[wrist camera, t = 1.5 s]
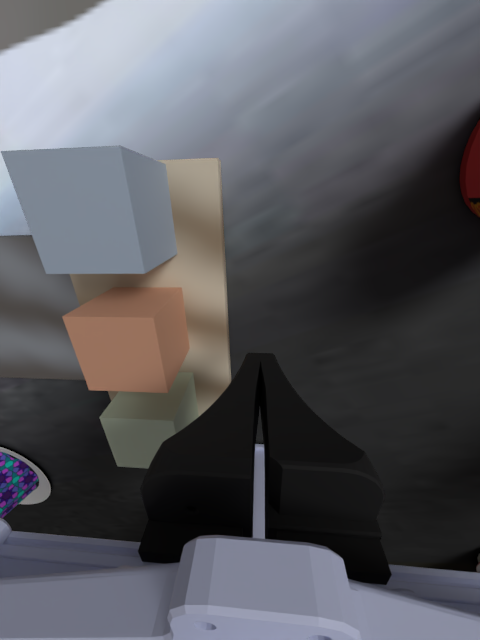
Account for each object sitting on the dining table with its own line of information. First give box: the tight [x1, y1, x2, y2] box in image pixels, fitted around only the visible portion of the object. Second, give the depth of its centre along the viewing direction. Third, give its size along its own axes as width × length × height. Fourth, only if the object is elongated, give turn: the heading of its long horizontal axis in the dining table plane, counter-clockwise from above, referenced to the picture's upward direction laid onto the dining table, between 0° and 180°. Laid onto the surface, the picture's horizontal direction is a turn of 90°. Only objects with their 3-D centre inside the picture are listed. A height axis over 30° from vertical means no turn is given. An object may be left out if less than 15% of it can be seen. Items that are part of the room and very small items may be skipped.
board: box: [0, 158, 231, 416], centre depth 19 cm, size 20×21×1 cm
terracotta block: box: [62, 287, 190, 393], centre depth 16 cm, size 5×5×5 cm
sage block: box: [99, 372, 199, 468], centre depth 19 cm, size 5×5×5 cm
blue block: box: [1, 146, 177, 274], centre depth 13 cm, size 5×5×5 cm
